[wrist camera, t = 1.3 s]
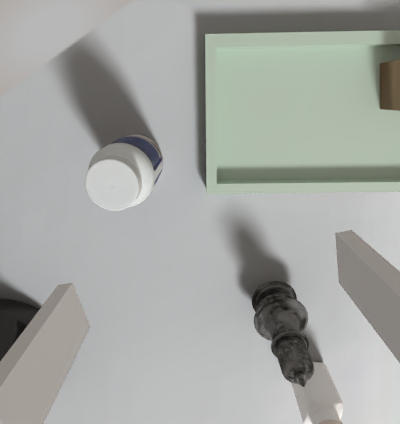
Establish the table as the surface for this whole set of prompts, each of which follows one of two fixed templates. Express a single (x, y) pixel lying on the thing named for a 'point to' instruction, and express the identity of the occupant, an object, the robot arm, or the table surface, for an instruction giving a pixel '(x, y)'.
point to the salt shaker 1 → (284, 329)
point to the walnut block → (390, 85)
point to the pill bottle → (124, 172)
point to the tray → (300, 113)
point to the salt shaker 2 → (319, 398)
